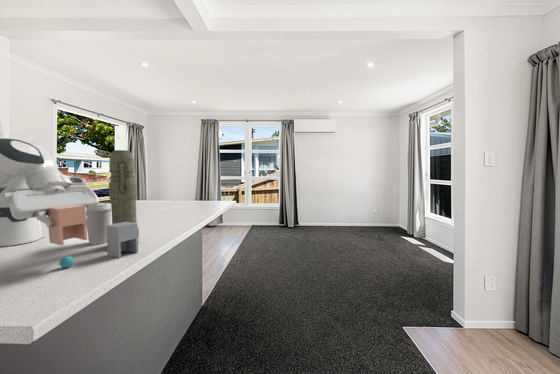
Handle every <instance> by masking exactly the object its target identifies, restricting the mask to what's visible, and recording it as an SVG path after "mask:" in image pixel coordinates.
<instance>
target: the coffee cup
mask: <svg viewBox="0 0 560 374" xmlns="http://www.w3.org/2000/svg"><path fill="white" fill-rule="evenodd" d="M86 216H87V220H86V228H87V240H88V244H89V245H90V246H95V245H96V246H97V245H104V244H107V228H106V225H110V224H111V223H112V209H111V202H99V203H98V205H97V207H96V208H95V209H92V210H86Z"/></svg>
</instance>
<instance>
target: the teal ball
mask: <svg viewBox="0 0 560 374" xmlns="http://www.w3.org/2000/svg"><path fill="white" fill-rule="evenodd" d="M74 262H75V261H74V258H73V257H72V256H69V255H67V256H63V257H62V258H61V259H60V260H59V266H60V267H61V268H64V269H68V268H71V267H72V266H73V265H74Z"/></svg>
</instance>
